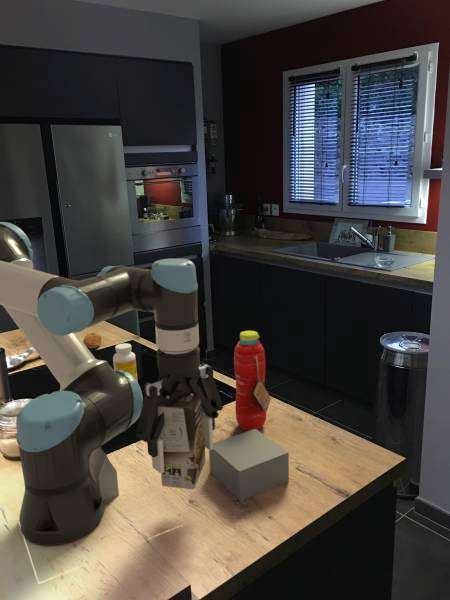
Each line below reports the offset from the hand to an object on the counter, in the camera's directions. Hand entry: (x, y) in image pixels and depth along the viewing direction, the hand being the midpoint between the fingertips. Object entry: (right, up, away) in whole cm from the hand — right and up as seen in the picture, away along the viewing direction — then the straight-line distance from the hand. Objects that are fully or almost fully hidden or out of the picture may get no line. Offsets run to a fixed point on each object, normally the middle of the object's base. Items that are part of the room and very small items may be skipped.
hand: (183, 457), depth 98 cm
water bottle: (+15, -3, +33) cm, 36 cm away
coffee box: (0, -4, +1) cm, 4 cm away
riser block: (+13, -8, +13) cm, 20 cm away
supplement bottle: (-22, +3, +61) cm, 65 cm away
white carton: (-17, -10, +10) cm, 22 cm away
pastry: (-43, +11, +94) cm, 104 cm away
